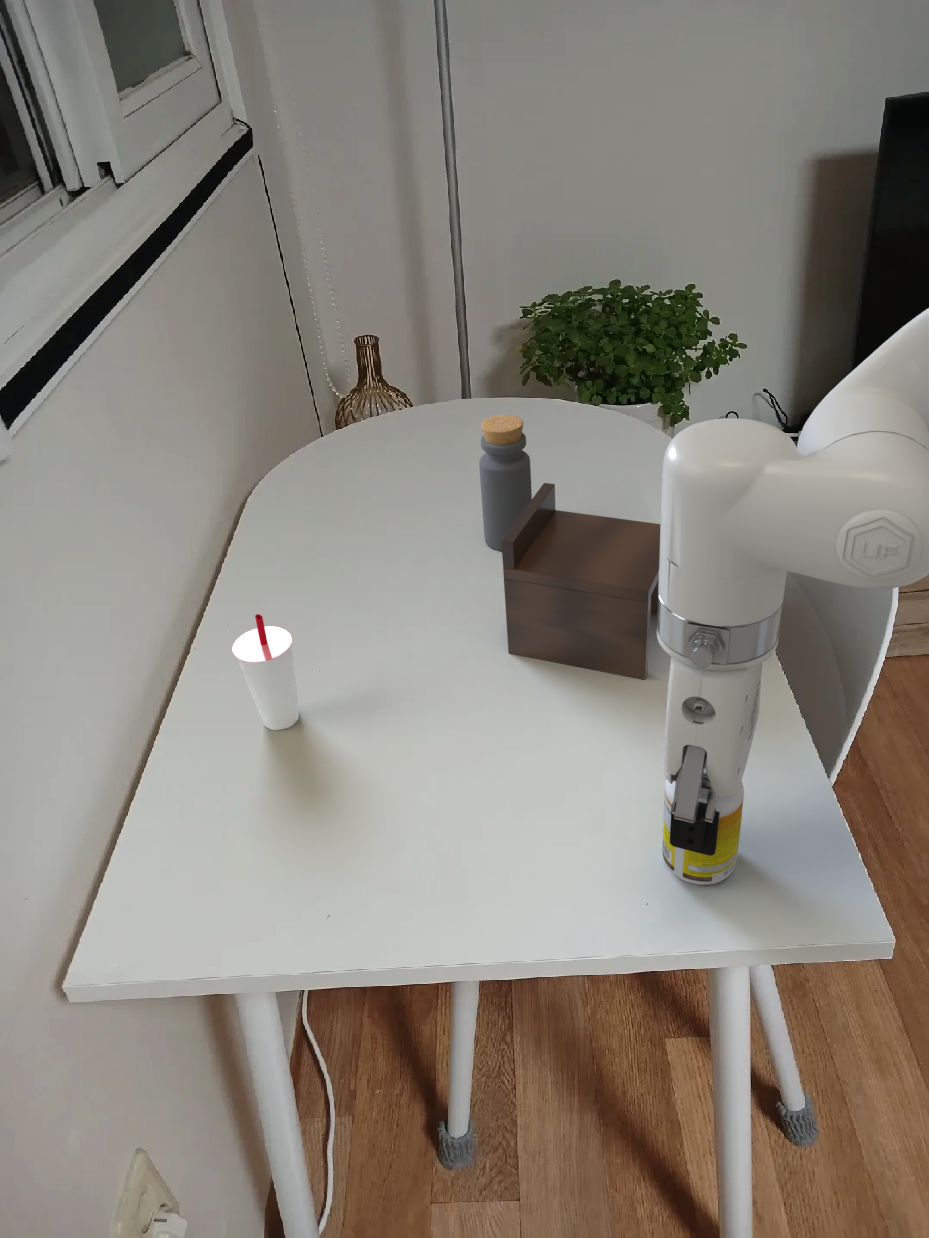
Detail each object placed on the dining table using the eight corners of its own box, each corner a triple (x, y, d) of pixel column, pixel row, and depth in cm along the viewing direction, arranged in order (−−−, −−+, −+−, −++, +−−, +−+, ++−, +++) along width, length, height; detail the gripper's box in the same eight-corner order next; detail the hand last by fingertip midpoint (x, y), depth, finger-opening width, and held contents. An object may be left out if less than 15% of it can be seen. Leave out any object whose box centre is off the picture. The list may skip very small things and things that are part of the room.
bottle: (487, 554, 112) (478, 436, 103) (482, 529, 117) (474, 415, 108) (536, 549, 112) (532, 430, 103) (529, 524, 117) (525, 409, 108)
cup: (320, 716, 90) (297, 613, 83) (273, 745, 88) (245, 641, 81) (288, 692, 94) (264, 591, 87) (242, 719, 91) (213, 617, 84)
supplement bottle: (751, 860, 72) (764, 762, 67) (703, 901, 70) (712, 803, 64) (693, 820, 76) (700, 724, 70) (646, 858, 74) (649, 761, 68)
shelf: (673, 610, 100) (680, 499, 92) (644, 679, 91) (649, 563, 83) (547, 589, 105) (543, 482, 97) (508, 653, 96) (501, 540, 89)
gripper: (756, 714, 52) (731, 922, 63) (798, 555, 65) (772, 750, 75) (622, 688, 55) (620, 892, 65) (688, 541, 68) (678, 731, 78)
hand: (702, 814), depth 70 cm, fingers closed on supplement bottle, 5 cm apart
